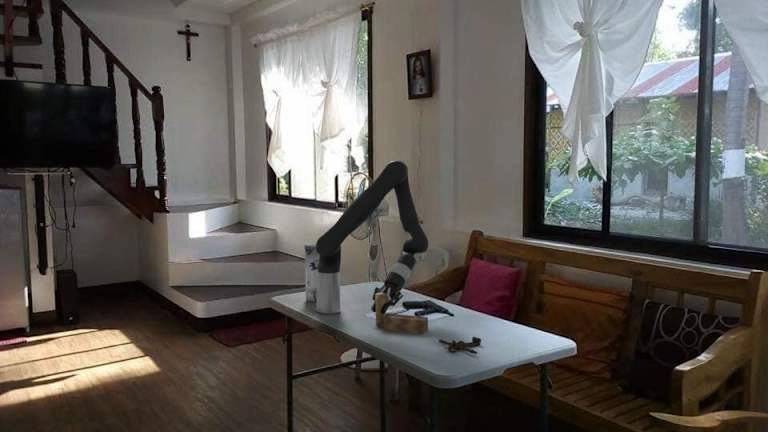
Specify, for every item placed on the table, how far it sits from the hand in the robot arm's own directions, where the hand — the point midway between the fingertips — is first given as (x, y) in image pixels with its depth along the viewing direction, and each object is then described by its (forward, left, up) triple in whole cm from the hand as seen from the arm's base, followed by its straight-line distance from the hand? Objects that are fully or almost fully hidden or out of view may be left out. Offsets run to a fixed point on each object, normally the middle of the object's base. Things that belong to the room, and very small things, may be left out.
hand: (377, 311), depth 239 cm
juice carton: (-42, +29, -5) cm, 52 cm away
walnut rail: (+13, -2, -5) cm, 14 cm away
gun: (+10, +28, -6) cm, 30 cm away
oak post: (+1, +2, -5) cm, 6 cm away
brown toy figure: (+39, -16, -6) cm, 42 cm away
